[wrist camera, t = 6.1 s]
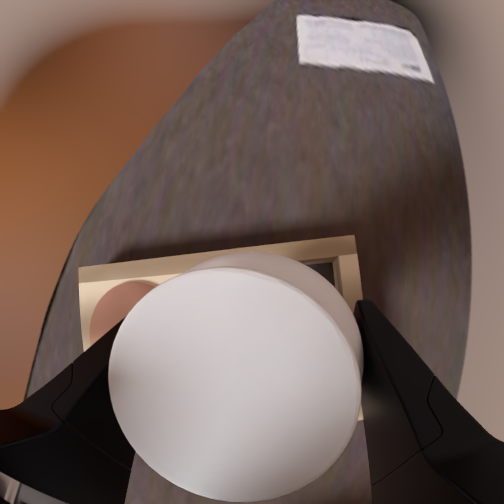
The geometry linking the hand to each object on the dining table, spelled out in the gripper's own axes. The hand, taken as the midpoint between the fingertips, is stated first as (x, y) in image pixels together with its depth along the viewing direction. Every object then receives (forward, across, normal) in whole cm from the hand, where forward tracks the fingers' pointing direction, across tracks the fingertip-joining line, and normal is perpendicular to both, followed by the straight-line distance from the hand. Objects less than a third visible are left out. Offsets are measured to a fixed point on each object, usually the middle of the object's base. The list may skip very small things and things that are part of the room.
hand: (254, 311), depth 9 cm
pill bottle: (+4, 0, +6) cm, 7 cm away
